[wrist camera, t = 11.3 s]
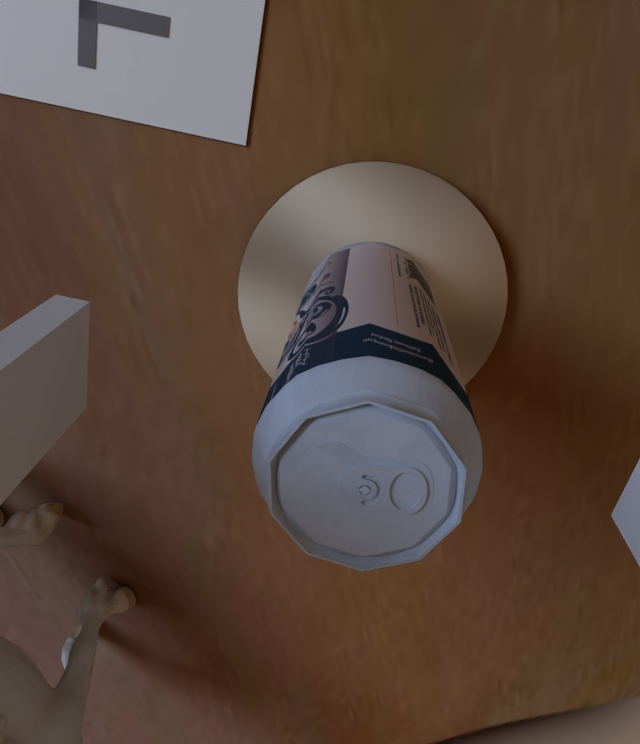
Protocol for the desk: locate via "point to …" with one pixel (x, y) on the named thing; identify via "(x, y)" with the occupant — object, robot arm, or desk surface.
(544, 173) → the desk surface
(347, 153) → the desk surface
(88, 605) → the unicorn figurine
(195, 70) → the tile
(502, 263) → the cork coaster
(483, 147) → the desk surface
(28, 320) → the robot arm
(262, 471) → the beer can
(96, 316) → the desk surface
